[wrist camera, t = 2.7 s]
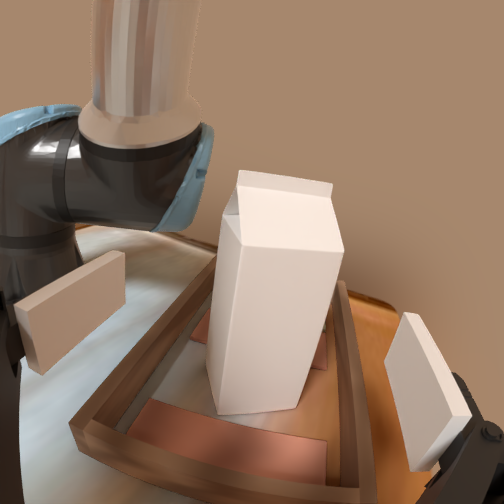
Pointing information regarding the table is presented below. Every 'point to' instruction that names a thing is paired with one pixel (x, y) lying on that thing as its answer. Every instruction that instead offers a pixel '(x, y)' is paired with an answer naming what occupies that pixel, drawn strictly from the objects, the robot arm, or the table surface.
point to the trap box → (228, 425)
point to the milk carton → (270, 291)
